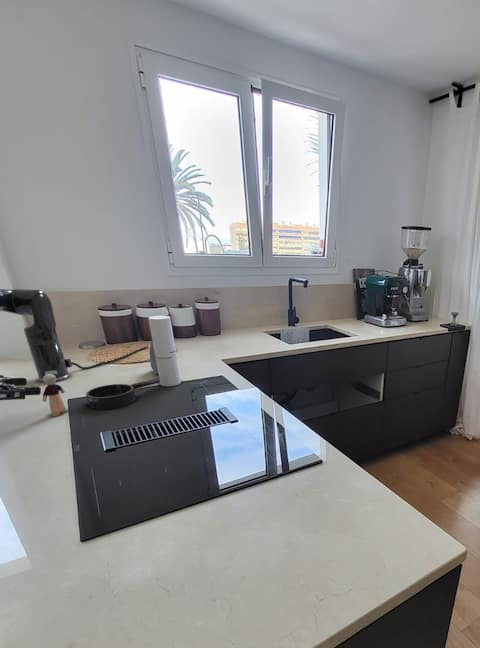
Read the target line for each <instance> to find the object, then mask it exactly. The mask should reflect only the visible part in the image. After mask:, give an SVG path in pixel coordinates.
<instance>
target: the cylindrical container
mask: <svg viewBox="0 0 480 648" xmlns="http://www.w3.org/2000/svg"><path fill="white" fill-rule="evenodd" d="M147 320H148V324H149V329H150V336H151V341H153V346H154V352H155V357H156V362H157V368H158V373H159V375H158V379H160V382H159V384H160V386H162V387H174V386H179V385H180V384H181V383H182V381H181V374H180V368H179V363H178V357H177V351H176V344H175V338H174V331H173V326H172V320H171V316H169V315H154V316H153V315H152V316H149V317H148V318H147Z"/></svg>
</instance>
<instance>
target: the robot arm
mask: <svg viewBox="0 0 480 648" xmlns="http://www.w3.org/2000/svg"><path fill="white" fill-rule="evenodd" d="M0 312H3V313H9V314H15V315H18V316H19V315H20V316H26V317H32V319H33V323H32V324H30V325H27V326H25V327H24V328H23V332H24V335H25V339H26V342H27V344H28V345H27V346H28V348H29V351H30V354H31V357H32V361H33V364H34V367H35V370H36V373H37V377H38V381H39V382H43V383H45V382H44V381H43V377H44V376H45V375H47V374H52V375H54V376H55V377H56V382H58V381H59V382H60V381H63V380H67V379H68V378H69V377H70V374H69V370H68V369H69V368H72V367H73V366H76V367H77V368H79V369H81V370H90V369H93V368H97V367H99V366H102V365H106V364H109V363H113V362H117V361H120V360H122V359H124V358H126V357H129V356H131V355H133V354H135V353H137V352H140V351H142V350H145V349H149V346H148V345H146V346H147V347H146V346H143V347H144V348H143V347H140V348H141V349H140V348H138V349H139V350H137V349H135V350H136V351H135V350H133V351H134V352H133V351H131V352H132V353H131V352H129V353H130V354H128V353H126V354H127V355H126V354H124V355H125V356H124V355H122V356H123V357H121V356H119V357H120V358H119V357H116V358H117V359H116V358H113V359H114V360H112V359H110V360H111V361H109V360H106V361H107V362H105V361H102V362H99V363H95V364H93V365H90V366H81V365H80V364H78V363H77V362H73V361H72V360H71V358H65V357H64V353H63V351H62V348H61V344H60V341H59V337H58V334H57V330H56V329H57V328H56V327H57V322H56V318H55V317H56V316H55V314H54V309H53V304H52V301H51V299H50V297H49V295H48V294H47V293H46V292H45V291H44V290H42V289H33V288H32V289H30V288H29V289H28V288H27V289H25V288H17V289H4V288H3V289H2V288H0ZM27 382H28V380H27V378H26V377H9V376H5V375H3V374H0V401H14V400H16V401H17V400H25V399H26V396H39V395H41V393H42V389H41V387H39V386H27ZM23 386H24V387H23Z"/></svg>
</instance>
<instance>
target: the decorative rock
mask: <svg viewBox="0 0 480 648" xmlns="http://www.w3.org/2000/svg"><path fill="white" fill-rule="evenodd" d="M148 349H149V361H150V367H151V370H152V371H153V373H155V375H156V376H159V373H158V368H157V362H156V357H155V352H154V346H153V341H152V340H151V341H150V345H149V348H148Z"/></svg>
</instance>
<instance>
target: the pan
mask: <svg viewBox="0 0 480 648" xmlns="http://www.w3.org/2000/svg"><path fill="white" fill-rule="evenodd" d="M130 385H131V384H126V383H114V384H113V383H112V384H106V385H101V386H96V387H94V388H91V389H89V390H88V391H86V392H85V398H86V400H87V404H88V406H89V408H90V409H93V410H112V409H117V408H122V407H125V406H128V405H130V404H133V403H134V402H135V401H136V393H135V389H134V388H133V386H130ZM129 386H130V389H129Z"/></svg>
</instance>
